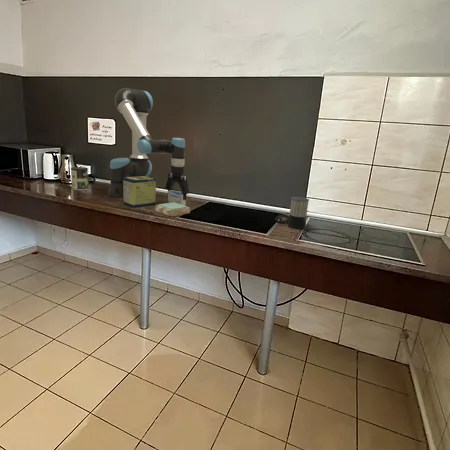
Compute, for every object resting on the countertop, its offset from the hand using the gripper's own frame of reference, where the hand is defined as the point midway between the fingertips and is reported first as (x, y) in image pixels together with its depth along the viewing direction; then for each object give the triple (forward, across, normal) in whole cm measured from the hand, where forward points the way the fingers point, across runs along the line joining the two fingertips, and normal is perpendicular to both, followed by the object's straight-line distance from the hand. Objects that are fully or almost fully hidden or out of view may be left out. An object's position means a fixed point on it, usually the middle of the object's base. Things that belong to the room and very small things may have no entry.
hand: (176, 203), depth 195 cm
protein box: (+2, -14, -16) cm, 21 cm away
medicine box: (+2, 0, 0) cm, 2 cm away
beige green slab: (+2, +10, -11) cm, 15 cm away
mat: (-1, +10, -11) cm, 15 cm away
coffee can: (+2, -70, -25) cm, 74 cm away
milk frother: (+2, +63, +25) cm, 67 cm away
